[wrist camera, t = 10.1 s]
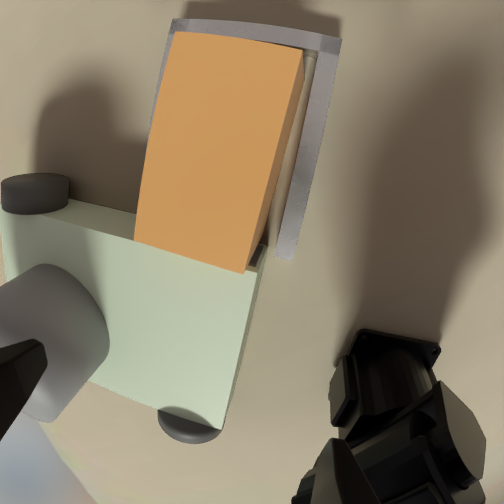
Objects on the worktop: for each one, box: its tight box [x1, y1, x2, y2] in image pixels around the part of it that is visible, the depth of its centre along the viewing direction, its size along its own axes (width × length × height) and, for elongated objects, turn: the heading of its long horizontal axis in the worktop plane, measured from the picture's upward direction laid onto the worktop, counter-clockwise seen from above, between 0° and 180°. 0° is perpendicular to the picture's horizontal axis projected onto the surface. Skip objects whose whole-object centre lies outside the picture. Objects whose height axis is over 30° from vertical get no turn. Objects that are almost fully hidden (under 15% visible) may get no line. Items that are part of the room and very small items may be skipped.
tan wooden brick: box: [134, 31, 304, 274], centre depth 14 cm, size 5×9×6 cm, turn 167°
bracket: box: [145, 19, 342, 261], centre depth 16 cm, size 9×12×2 cm
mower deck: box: [0, 173, 268, 444], centre depth 17 cm, size 18×15×10 cm
